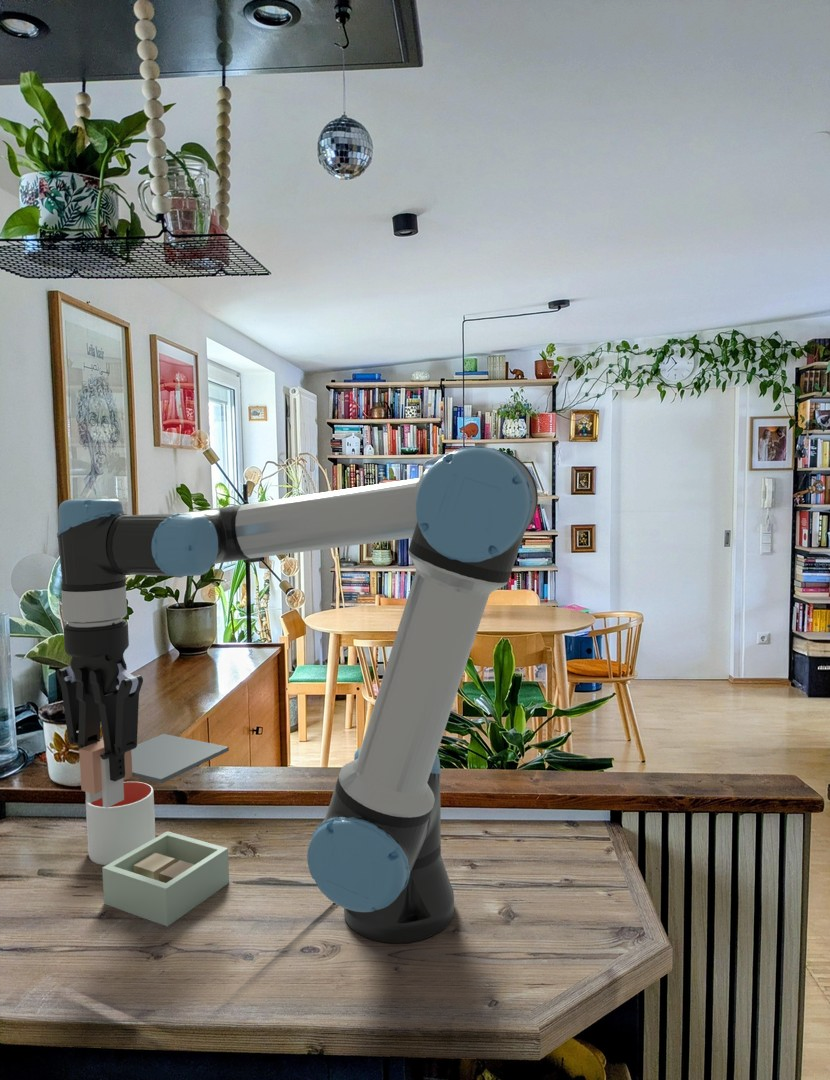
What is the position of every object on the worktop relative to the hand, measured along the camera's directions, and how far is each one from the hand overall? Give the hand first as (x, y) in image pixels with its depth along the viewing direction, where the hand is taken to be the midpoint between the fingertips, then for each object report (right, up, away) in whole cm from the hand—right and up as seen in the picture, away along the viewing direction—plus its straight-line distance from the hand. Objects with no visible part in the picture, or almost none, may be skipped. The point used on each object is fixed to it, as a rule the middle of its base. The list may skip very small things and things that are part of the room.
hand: (105, 800), depth 98 cm
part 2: (+7, -17, +9) cm, 20 cm away
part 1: (+3, -17, +11) cm, 20 cm away
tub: (+5, -18, +10) cm, 21 cm away
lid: (+3, +2, +6) cm, 7 cm away
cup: (-7, -17, +23) cm, 29 cm away
